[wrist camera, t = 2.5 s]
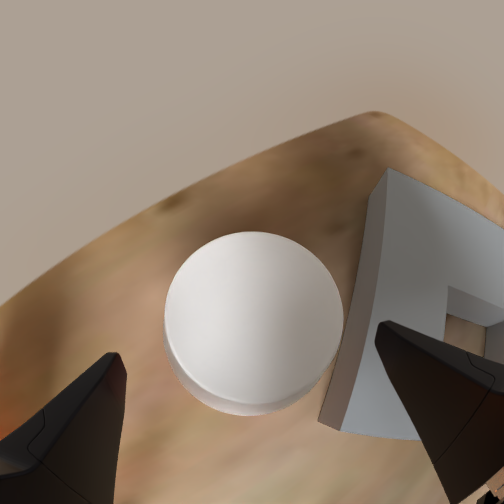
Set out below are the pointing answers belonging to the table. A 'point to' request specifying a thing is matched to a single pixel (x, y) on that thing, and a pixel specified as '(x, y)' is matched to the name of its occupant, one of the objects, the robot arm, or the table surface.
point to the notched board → (412, 295)
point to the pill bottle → (251, 323)
